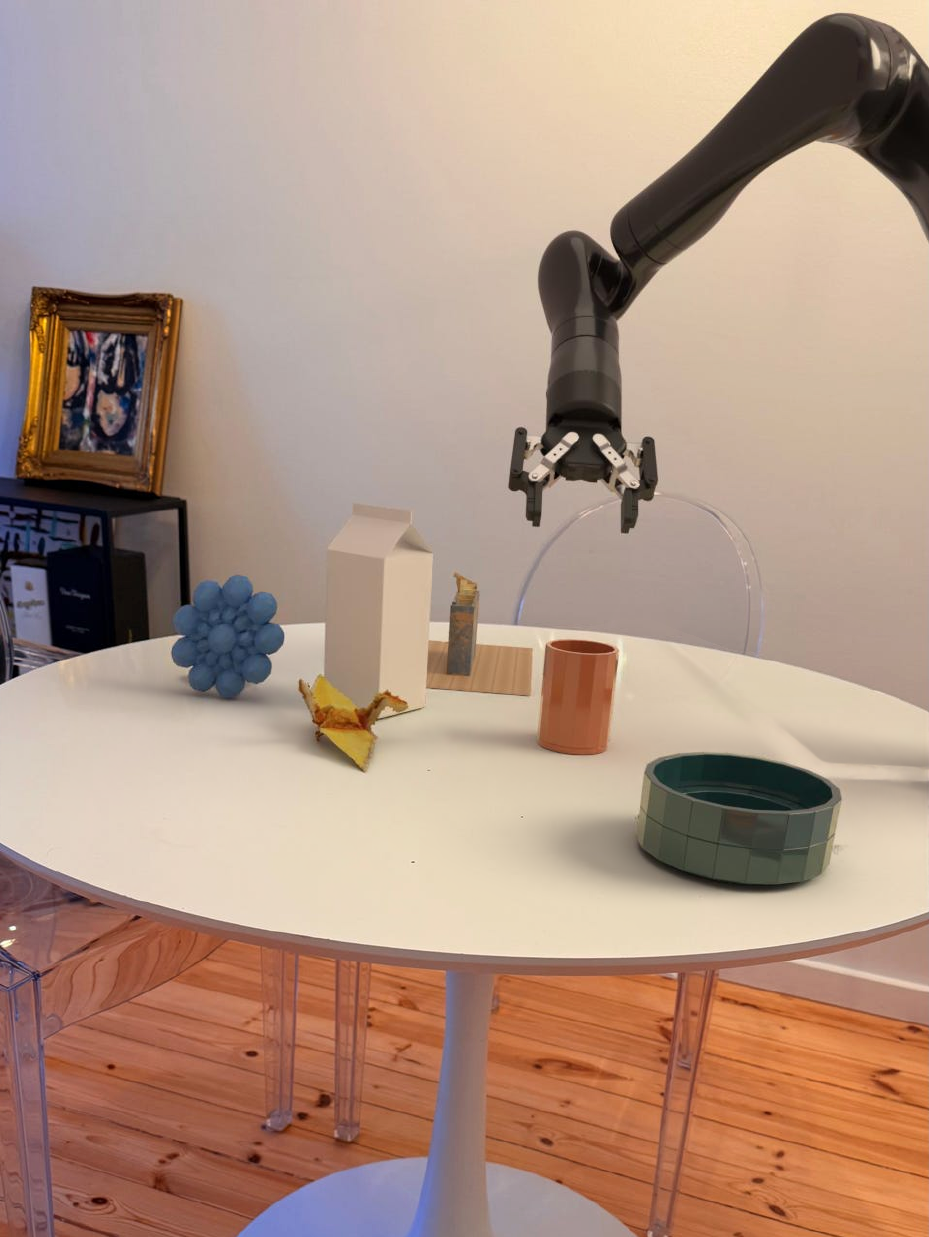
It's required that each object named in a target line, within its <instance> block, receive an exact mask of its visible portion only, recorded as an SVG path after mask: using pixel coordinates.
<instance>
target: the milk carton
mask: <svg viewBox="0 0 929 1237" xmlns="http://www.w3.org/2000/svg"><path fill="white" fill-rule="evenodd" d="M433 566H434V552H433V551H432V549H431V547H430V546H429V545H428V544H427V542H426V540H425V539H424V538H423V536H422V535H421V534H420V533H419V531H418V529H417V528H416V527H415V525H414V524H413V510H408V509H402V508H396V507H395V508H394V507H387V506H382V505H381V506H380V505H373V504H366V503H359V502H353V503H352V515H351V516H350V517H349V518H348V520H347V521H346V522H345V524H344V525H343V526H342V528H341V529H340V531H339V532H338V533H337V534H336V536H334V538H333V540H332V541H331V543H329V545H328V546H327V547H326V574H325V575H326V576H325V578H326V579H325V580H326V582H325V620H324V624H325V625H324V662H323V663H324V664H323V666H324V667H323V676H324V677H325V679H326V680H327V681H328V682H329V683H330V684H331V686H333V687H335V688H336V689H337V690H338V691H339V692H341V693H343V694H344V696H346V697H348V698H349V699H350V700H351V701H352V702H353V703H354V704H355V705H356V706H357V707H358V710H359V709H360V708H363V707H365V708H364V709H366V708H367V707H368V706H369V705H370V704H371V703H372V702H373V701H372V700H374V699H375V697H374V696H375V695H376V694H378V693H381V692H382V693H383V692H385V691H387V689H388V691H389V692H391V695H393V696H399V698H400V699H401V700H404V701H406V702H407V705H408V706H409V707H408V708H407V709H406V710H404V711H401V712H396V711H392V710H393V708H389V706H387V707H385V710H382V711H381V714H380V715H379V716H378V719H377V720H379V719H383V718H387V717H391V716H395V715H399V714H403V713H406V712H410V711H414V710H415V711H416V710H418V709H422V708H425V705H426V694H427V693H426V692H427V688H426V678H427V660H428V642H429V640H430V638H429V637H430V622H431V621H430V620H431V605H432V604H431V602H432V588H433V586H432V584H433V569H434V568H433Z"/></svg>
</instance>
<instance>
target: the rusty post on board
mask: <svg viewBox="0 0 929 1237" xmlns="http://www.w3.org/2000/svg"><path fill="white" fill-rule="evenodd" d="M453 578H455V579H456V580H455V584H456V588H457V591H456V592H455V593H456V594H455V596H454V598H453V600H452V601H451V604H450V608H449V626H448V641H444V642H442V640H430V639H429V642H428V660H427V678H426V689H438V690H439V689H440V690H451V691H464V692H466V691H467V692H477V693H490V694H504V695H516V696H517V695H518V696H529V697H530V696H531V694H532V693H531V692H532V670H533V647H523V646H508V645H494V644H484V643H482V644H481V643H477V637H478V623H479V622H478V621H479V609H480V608H479V607H480V594H481V591H480V590H478V586H479V584H478V583H476V582H474V581H472V580H469V579H468V578H466V577H465V576H463V575H461V574H460V573H458V572H456V571H454V573H453Z"/></svg>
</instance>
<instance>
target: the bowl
mask: <svg viewBox="0 0 929 1237" xmlns="http://www.w3.org/2000/svg"><path fill="white" fill-rule="evenodd" d="M842 801H843V797H842V793H841V789H840V788H839V787H838V786H837V785H836V784H835V783H833V782H832V781H831V780H829V778H826V777H824V776H822V775H821V774H818V773H816V772H814V771H811V770H809V769H807V768H805V767H804V768H803V767H800V766H797V765H795V764H791V763H788V762H784V761H780V760H775V759H771V758H765V757H760V756H756V755H755V756H754V755H747V754H740V753H732V752H715V751H696V752H695V751H694V752H681V753H680V752H679V753H674V754H667V755H663V756H660V757H657V758H655V759H653V760H652V761H650V762H648V763H647V764H646V766H645V768H644V772H643V780H642V788H641V796H640V802H639V810H638V819H637V825H636V826H637V828H636V836H635V838H636V840H637V841H638V843H639V845H640V847H641V848H642V849H643V850H644V851H645V852H647V853H648V854H649V855H651V856H652V857H654V858H655V859H656V860H657V861H660V862H662V863H664V864H667V865H669V866H671V867H674V868H675V869H678V870H679V871H683V872H685V873H688V874H691V875H693V876H698V877H700V878H705V879H708V880H712V881H717V882H722V883H729V884H737V885H748V886H749V885H750V886H769V885H770V886H771V885H782V884H791V883H800V882H804V881H808V880H810V879H813V878H817V877H819V876H821V875H822V874H823V873H824V871H826V870H827V868H828V867H829V866H830V863H831V859H832V853H833V847H834V842H835V839H836V838H835V837H836V832H837V827H838V823H839V817H840V810H841V806H842Z"/></svg>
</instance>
